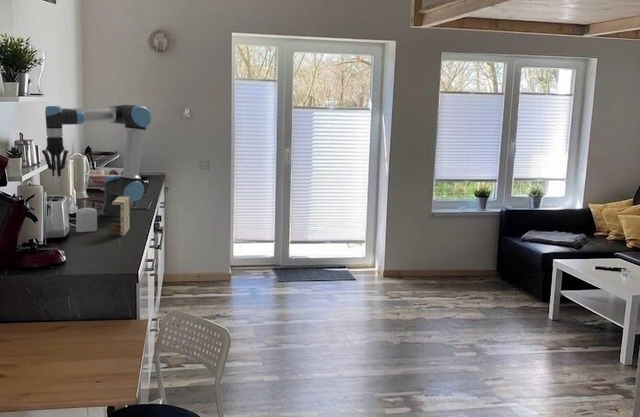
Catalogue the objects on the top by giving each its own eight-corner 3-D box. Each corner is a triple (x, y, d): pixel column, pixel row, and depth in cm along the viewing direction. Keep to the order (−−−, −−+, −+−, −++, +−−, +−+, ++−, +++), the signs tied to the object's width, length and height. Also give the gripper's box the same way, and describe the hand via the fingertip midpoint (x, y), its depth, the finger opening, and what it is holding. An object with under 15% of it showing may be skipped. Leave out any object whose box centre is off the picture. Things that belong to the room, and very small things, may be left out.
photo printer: (95, 229, 326) (95, 206, 324) (98, 231, 322) (97, 208, 320) (75, 231, 320) (74, 207, 318) (77, 233, 317) (76, 209, 314)
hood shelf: (113, 228, 332) (112, 196, 329) (129, 228, 333) (129, 196, 330) (106, 235, 314) (106, 202, 311) (123, 235, 315) (123, 202, 312)
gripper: (38, 136, 312) (41, 183, 316) (65, 137, 313) (67, 183, 317) (44, 135, 319) (46, 181, 324) (70, 136, 320) (72, 181, 325)
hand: (57, 182), depth 320 cm, fingers closed
